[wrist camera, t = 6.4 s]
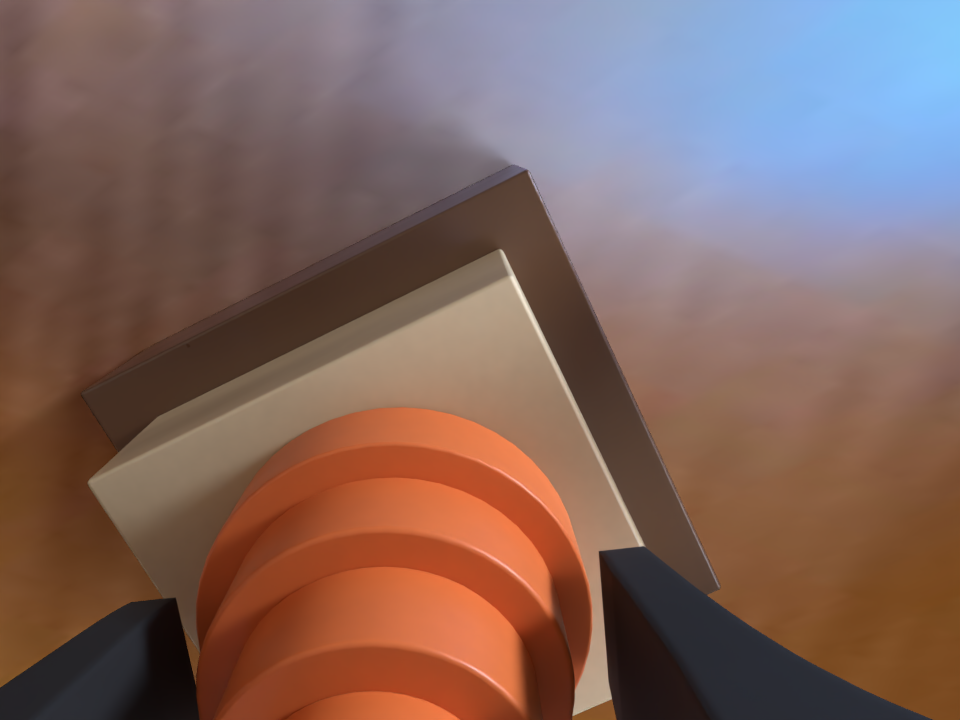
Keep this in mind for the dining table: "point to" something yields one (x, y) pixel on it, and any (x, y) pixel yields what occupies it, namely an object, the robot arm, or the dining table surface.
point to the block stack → (396, 390)
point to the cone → (394, 581)
